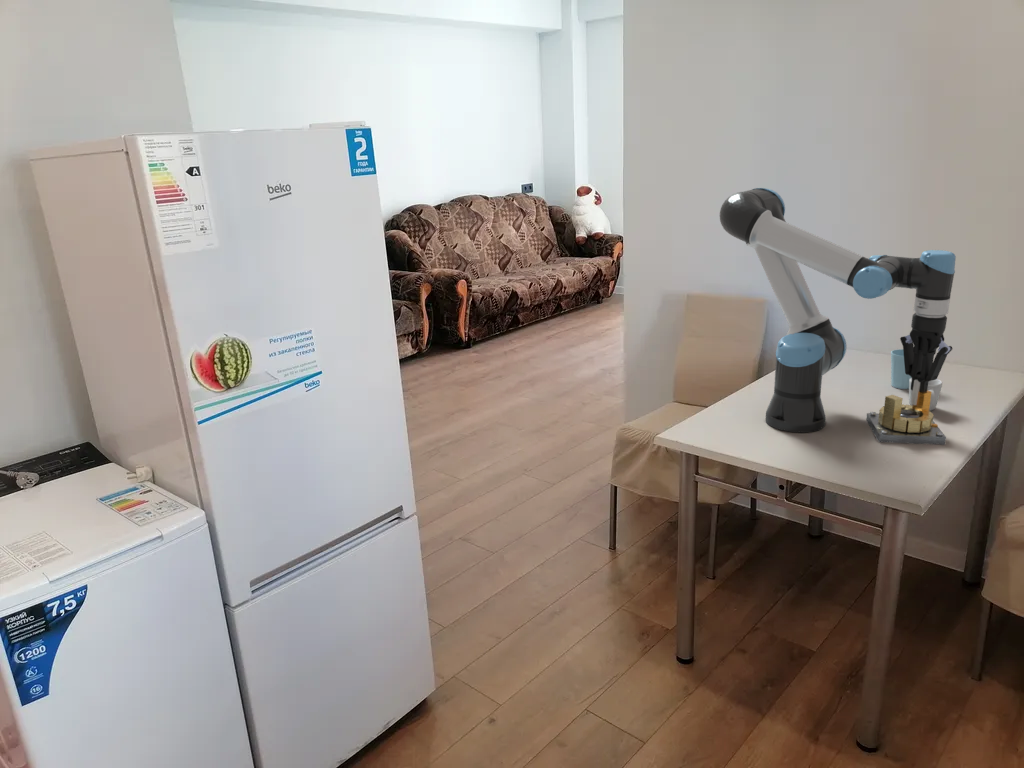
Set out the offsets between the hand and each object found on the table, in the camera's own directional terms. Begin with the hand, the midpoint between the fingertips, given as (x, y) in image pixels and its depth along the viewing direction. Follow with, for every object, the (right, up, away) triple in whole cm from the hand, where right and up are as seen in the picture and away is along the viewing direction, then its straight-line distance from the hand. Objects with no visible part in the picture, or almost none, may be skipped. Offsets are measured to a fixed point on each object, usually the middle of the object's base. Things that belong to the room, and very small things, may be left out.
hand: (916, 403), depth 195 cm
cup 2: (+9, -2, +13) cm, 16 cm away
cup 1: (+13, +4, +32) cm, 35 cm away
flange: (-3, -7, 0) cm, 8 cm away
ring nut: (-4, -5, -1) cm, 6 cm away
